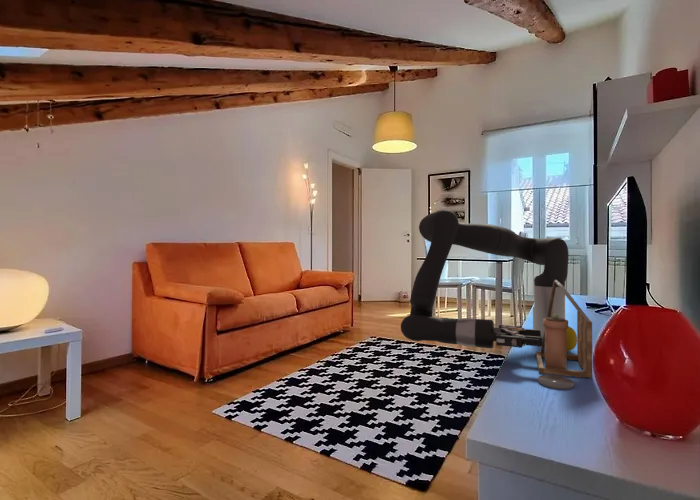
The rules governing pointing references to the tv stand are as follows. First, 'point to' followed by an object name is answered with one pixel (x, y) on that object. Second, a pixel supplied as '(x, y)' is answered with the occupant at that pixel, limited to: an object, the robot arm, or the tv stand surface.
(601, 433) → the tv stand surface
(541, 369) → the cold frame
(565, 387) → the grey-brown flat disc
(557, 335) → the pot
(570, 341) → the lemon
